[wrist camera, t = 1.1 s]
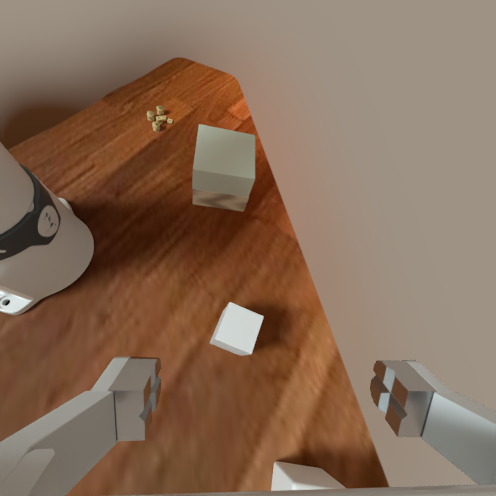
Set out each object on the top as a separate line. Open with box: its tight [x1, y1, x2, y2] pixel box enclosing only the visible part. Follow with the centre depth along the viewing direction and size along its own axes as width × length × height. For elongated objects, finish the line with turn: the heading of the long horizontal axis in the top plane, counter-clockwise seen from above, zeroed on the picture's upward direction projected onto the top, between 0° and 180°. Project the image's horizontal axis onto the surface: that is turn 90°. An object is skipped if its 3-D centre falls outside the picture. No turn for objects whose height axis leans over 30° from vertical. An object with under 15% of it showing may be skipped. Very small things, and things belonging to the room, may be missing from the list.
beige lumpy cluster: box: [147, 106, 172, 132], centre depth 54 cm, size 5×5×2 cm
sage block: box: [192, 124, 255, 197], centre depth 44 cm, size 10×10×5 cm
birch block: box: [192, 189, 249, 212], centre depth 48 cm, size 10×10×5 cm
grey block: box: [210, 302, 264, 355], centre depth 36 cm, size 5×5×8 cm
